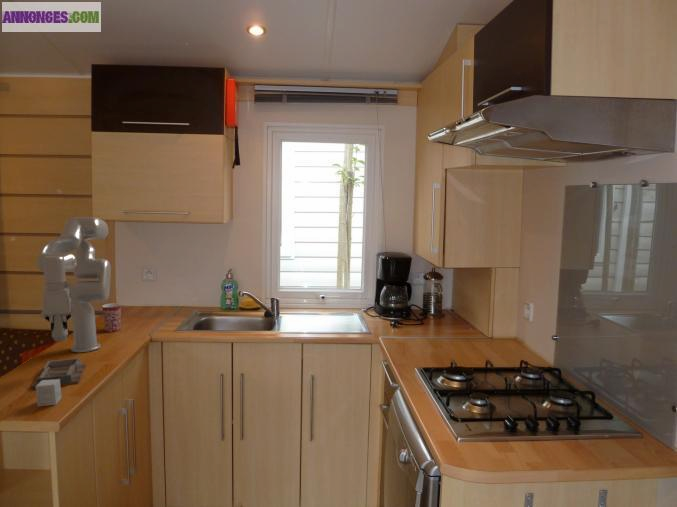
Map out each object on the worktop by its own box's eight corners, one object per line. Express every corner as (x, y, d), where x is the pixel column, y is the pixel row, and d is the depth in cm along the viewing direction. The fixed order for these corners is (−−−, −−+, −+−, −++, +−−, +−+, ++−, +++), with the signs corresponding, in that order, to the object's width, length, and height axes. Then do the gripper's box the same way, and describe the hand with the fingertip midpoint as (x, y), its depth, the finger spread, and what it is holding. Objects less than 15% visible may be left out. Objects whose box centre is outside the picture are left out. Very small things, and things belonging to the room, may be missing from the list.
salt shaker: (64, 337, 223) (61, 306, 222) (70, 339, 220) (68, 308, 218) (49, 340, 219) (46, 308, 217) (55, 342, 215) (53, 310, 214)
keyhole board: (43, 369, 223) (43, 367, 223) (85, 365, 228) (85, 363, 228) (31, 388, 203) (31, 386, 202) (78, 383, 208) (78, 380, 207)
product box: (62, 398, 193) (60, 378, 192) (56, 405, 187) (54, 384, 186) (43, 399, 192) (41, 379, 191) (36, 406, 186) (35, 386, 185)
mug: (119, 332, 279) (117, 306, 277) (101, 333, 279) (99, 307, 277) (127, 326, 292) (125, 301, 290) (110, 326, 291) (108, 301, 289)
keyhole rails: (48, 366, 224) (48, 361, 224) (80, 363, 228) (80, 357, 227) (37, 385, 203) (36, 378, 203) (72, 381, 207) (72, 375, 206)
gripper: (79, 283, 223) (83, 327, 225) (34, 286, 218) (38, 331, 220) (77, 286, 216) (80, 331, 218) (30, 289, 211) (34, 335, 213)
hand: (59, 331), depth 219 cm, fingers closed on salt shaker, 3 cm apart
